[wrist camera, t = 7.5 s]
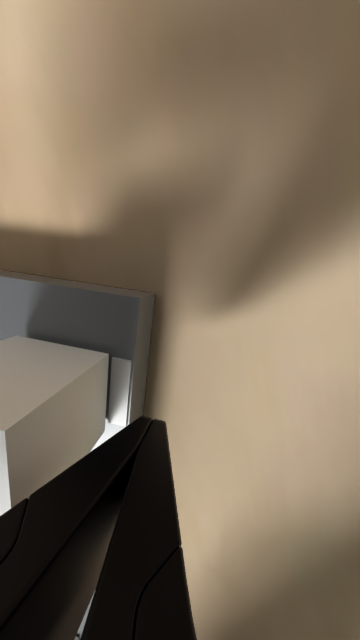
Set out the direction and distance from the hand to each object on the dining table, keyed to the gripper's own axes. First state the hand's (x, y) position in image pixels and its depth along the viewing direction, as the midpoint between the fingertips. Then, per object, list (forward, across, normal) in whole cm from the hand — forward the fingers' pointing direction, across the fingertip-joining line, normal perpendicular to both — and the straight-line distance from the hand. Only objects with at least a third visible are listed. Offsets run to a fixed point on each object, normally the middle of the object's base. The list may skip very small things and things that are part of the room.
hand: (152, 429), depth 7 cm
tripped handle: (+1, +4, 0) cm, 4 cm away
